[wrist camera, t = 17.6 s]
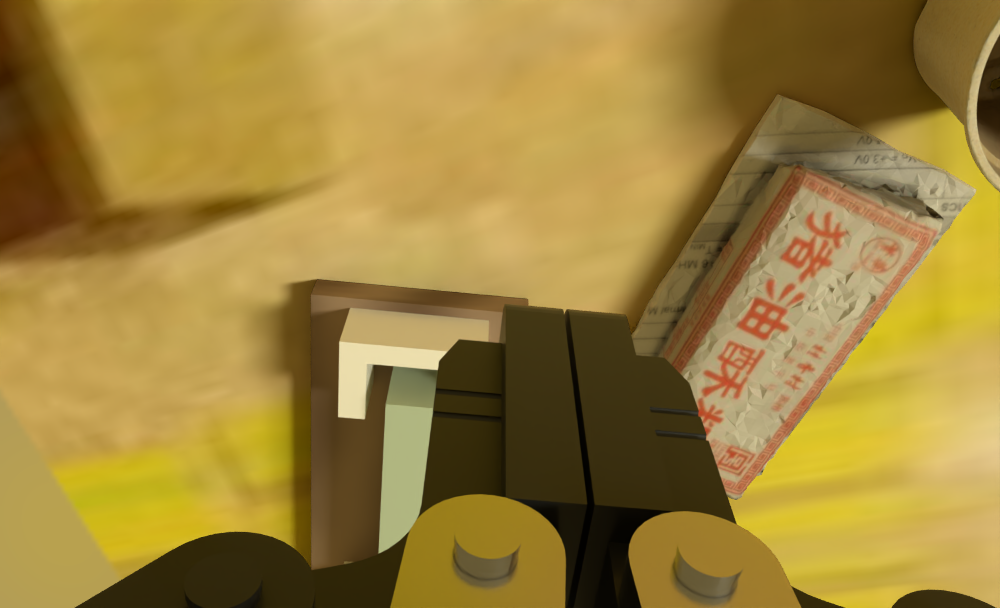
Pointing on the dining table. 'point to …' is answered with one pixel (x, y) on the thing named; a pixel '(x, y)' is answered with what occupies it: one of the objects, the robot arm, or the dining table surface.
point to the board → (360, 442)
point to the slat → (405, 450)
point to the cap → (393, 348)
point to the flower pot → (965, 70)
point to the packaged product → (791, 275)
